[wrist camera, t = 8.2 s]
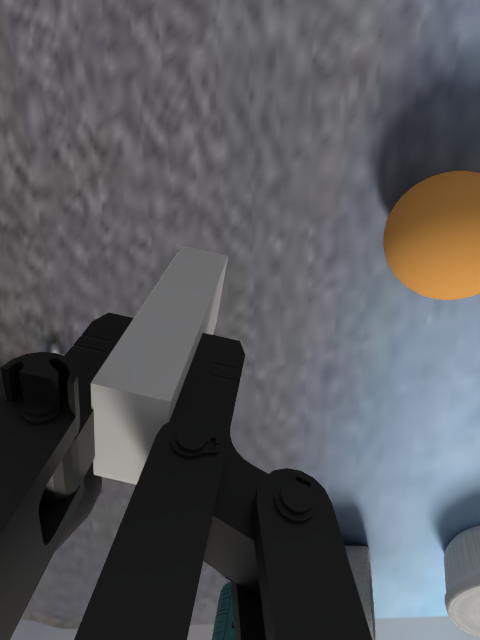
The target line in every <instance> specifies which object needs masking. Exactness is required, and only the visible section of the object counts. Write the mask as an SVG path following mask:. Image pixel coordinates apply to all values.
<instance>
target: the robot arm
mask: <svg viewBox="0 0 480 640" xmlns="http://www.w3.org/2000/svg"><path fill="white" fill-rule="evenodd" d="M227 259H228V256H225V255H221V254H217V253H212V252H208V251H203V250H199V249H194V248H190V247H185V246H181V248H180V249H179V251H178V252H177V254H176V255H175V257H174V258H173V260H172V261H171V263H170V264H169V266H168V267H167V269H166V270H165V272H164V273H163V275H162V276H161V278H160V279H159V281H158V282H157V284H156V285H155V287H154V288H153V290H152V291H151V293H150V294H149V296H148V297H147V299H146V301H145V302H144V304H143V305H142V307H141V308H140V310H139V311H138V313H137V314H136V316H135V317H134V318H130V317H126V316H121V315H117V314H113V313H107V314H105V315H103V316H102V317H100V318H98V319H96V320H94V321H92V323H91V324H90V325H89V326H88V328H87V329H86V330H85V331H84V333H83V334H82V336H80V337H79V339H78V340H77V341H76V342H75V344H74V347H71V349H70V350H69V351H68V352H67V354H66V355H65V356H62V355H59V354H57V353H48V352H38V353H31V354H25V355H23V356H20V357H17V358H15V359H12V360H11V361H9V362H8V363H7V364H5V365H4V366H2V367H1V371H2V377H3V382H4V387H5V392H6V398H7V402H6V403H5V404H3V405H0V640H10V638H11V636H12V634H13V632H14V630H15V629H16V626H17V624H18V623H19V620H20V619H21V617H22V615H23V613H24V611H25V609H26V607H27V605H28V603H29V601H30V599H31V597H32V595H33V593H34V591H35V589H36V587H37V585H38V583H39V581H40V579H41V577H42V575H43V573H44V571H45V569H46V567H47V565H48V563H49V561H50V559H51V558H52V556H53V554H54V552H55V551H56V550H57V549H58V548H59V547H60V546H61V545H62V544H63V543H64V542H65V541H66V539H67V538H68V537H69V536H70V535H71V534H72V533H73V532H74V531H75V530H76V529H77V528H78V527H79V526H80V525H81V523H82V522H83V521H84V520H85V519H86V518H87V517H88V515H89V514H90V512H91V510H92V508H93V506H94V504H95V502H96V500H97V498H98V496H99V494H100V492H101V487H102V482H101V477H106V478H110V479H114V480H119V481H123V482H127V483H131V484H136V487H135V489H134V492H133V494H132V497H131V499H130V502H129V504H128V507H127V509H126V512H125V514H124V517H123V519H122V522H121V524H120V527H119V529H118V532H117V534H116V537H115V539H114V542H113V544H112V547H111V549H110V552H109V554H108V557H107V559H106V562H105V564H104V567H103V569H102V572H101V574H100V577H99V579H98V582H97V584H96V587H95V589H94V592H93V594H92V597H91V599H90V602H89V604H88V607H87V609H86V611H85V614H84V616H83V619H82V621H81V624H80V626H79V629H78V631H77V634H76V636H75V639H74V640H187V636H188V631H189V626H190V621H191V617H192V612H193V607H194V602H195V597H196V593H197V588H198V583H199V578H200V573H201V569H202V564H203V561H204V562H206V563H207V564H209V565H210V566H212V567H213V568H215V569H216V570H218V571H219V572H221V573H222V574H224V575H225V576H227V577H228V578H230V579H231V587H232V600H233V614H234V627H235V640H372V636H371V633H370V630H369V626H368V623H367V620H366V616H365V613H364V610H363V606H362V603H361V600H360V596H359V593H358V590H357V586H356V583H355V580H354V576H353V573H352V570H351V566H350V563H349V560H348V556H347V553H346V550H345V546H344V543H343V540H342V536H341V533H340V530H339V526H338V523H337V520H336V516H335V513H334V510H333V506H332V503H331V501H330V499H329V497H328V495H327V493H326V491H325V489H324V488H323V487H322V486H321V485H320V484H319V483H318V482H317V481H316V480H315V479H314V478H313V477H311V476H309V475H307V474H306V473H304V472H302V471H298V470H293V469H288V468H286V469H280V470H274V471H272V472H271V473H269V474H267V473H266V472H264V471H262V470H260V469H258V468H257V467H255V466H253V465H252V464H250V463H249V462H247V461H246V460H244V459H243V458H242V457H241V456H240V454H239V453H238V452H237V451H236V449H235V448H234V446H233V444H232V441H231V437H230V426H231V421H232V416H233V411H234V406H235V402H236V397H237V392H238V387H239V382H240V377H241V372H242V368H243V363H244V358H245V353H244V351H243V348H242V345H241V343H240V341H237V340H233V339H229V338H224V337H220V336H215V335H213V333H214V330H215V327H216V322H217V316H218V310H219V305H220V299H221V293H222V288H223V282H224V276H225V271H226V265H227ZM100 476H101V477H100Z"/></svg>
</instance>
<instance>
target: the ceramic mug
mask: <svg viewBox="0 0 480 640" xmlns="http://www.w3.org/2000/svg"><path fill="white" fill-rule="evenodd" d="M344 546H345V550H346V553H347V556H348V560H349V563H350V566H351V570H352V573H353V576H354V580H355V583H356V586H357V590H358V593H359V596H360V600H361V603H362V606H363V610H364V613H365V616H366V620H367V623H368V626H369V630H370V633H371V636H372V640H375V616H374V602H373V589H372V577H371V564H370V554H369V548H368V547H366V546H346V545H344Z"/></svg>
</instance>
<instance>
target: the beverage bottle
mask: <svg viewBox="0 0 480 640" xmlns="http://www.w3.org/2000/svg"><path fill="white" fill-rule="evenodd" d="M218 602H219V603H218V607H217V608H218V609H217V612H216V613H217V615H216V618H215V619H216V620H215V624H214V625H215V626H214V632H213V638H212V640H235V627H234V614H233V600H232V587H231V582H229V583H227V584H225V585H224V586H223V588H222V590H221V593H220V597H219V601H218Z"/></svg>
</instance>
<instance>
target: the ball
mask: <svg viewBox="0 0 480 640" xmlns="http://www.w3.org/2000/svg"><path fill="white" fill-rule="evenodd" d="M384 252H385V256H386V259H387V262H388V264H389V266H390V268H391V270H392V271H393V273H394V275H395V276H396V277H397V278H398V279H399V280H400V281H401V282H402V283H403V284H404V285H405V286H407V287H408V288H410V289H411V290H413V291H415V292H416V293H418V294H421V295H423V296H427V297H430V298H434V299H442V300H455V299H461V298H467V297H470V296H474V295H477V294H479V293H480V173H478V172H471V171H450V172H444V173H440V174H437V175H434V176H431V177H429V178H426V179H425V180H423V181H421V182H419V183H417V184H416V185H414V186H413V187H412V188H411V189H409V190H408V191H407V192H406V193H405V194H404V195H403V196H402V197H401V198H400V199H399V200H398V202H397V203H396V204H395V206H394V207H393V209H392V211H391V213H390V215H389V217H388V219H387V222H386V226H385V230H384Z"/></svg>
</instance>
